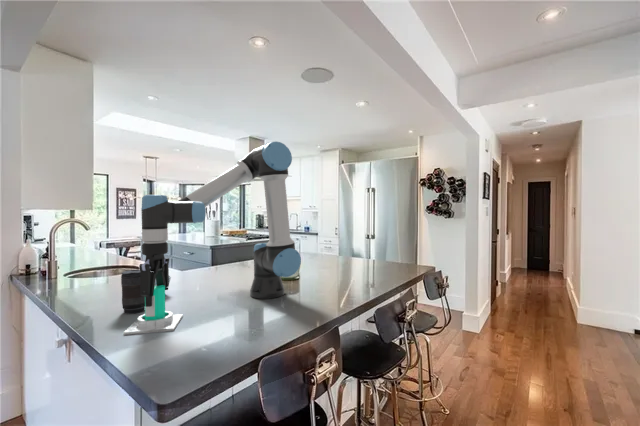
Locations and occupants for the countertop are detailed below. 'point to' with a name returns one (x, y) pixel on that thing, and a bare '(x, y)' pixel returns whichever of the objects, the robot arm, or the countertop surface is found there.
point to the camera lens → (132, 292)
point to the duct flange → (154, 324)
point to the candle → (158, 303)
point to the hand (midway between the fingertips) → (155, 312)
